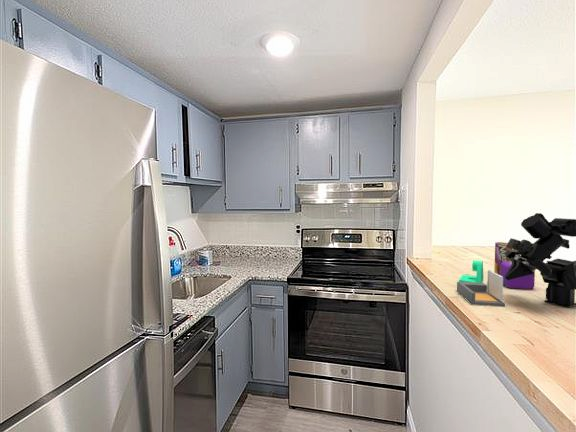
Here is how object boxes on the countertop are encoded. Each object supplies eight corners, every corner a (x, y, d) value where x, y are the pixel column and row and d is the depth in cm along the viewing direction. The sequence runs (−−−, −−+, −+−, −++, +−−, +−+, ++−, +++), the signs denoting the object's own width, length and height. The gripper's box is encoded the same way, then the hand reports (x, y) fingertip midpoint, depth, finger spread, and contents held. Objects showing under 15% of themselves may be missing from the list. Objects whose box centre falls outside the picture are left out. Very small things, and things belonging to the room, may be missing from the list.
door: (490, 291, 114) (490, 270, 114) (503, 300, 104) (503, 276, 104) (486, 291, 114) (487, 270, 114) (499, 300, 104) (499, 276, 104)
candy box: (518, 277, 140) (519, 244, 139) (510, 278, 139) (512, 244, 138) (501, 273, 149) (502, 241, 148) (493, 274, 148) (494, 242, 147)
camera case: (483, 291, 119) (484, 281, 119) (505, 306, 103) (505, 294, 103) (455, 290, 121) (455, 280, 121) (471, 304, 105) (472, 292, 105)
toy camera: (517, 281, 134) (518, 258, 134) (540, 290, 121) (541, 265, 120) (491, 281, 135) (492, 258, 135) (510, 290, 122) (511, 264, 121)
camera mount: (463, 280, 137) (463, 257, 137) (483, 283, 133) (483, 259, 132) (458, 286, 128) (458, 261, 127) (480, 289, 123) (480, 263, 123)
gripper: (510, 228, 114) (477, 257, 117) (541, 233, 96) (500, 267, 99) (534, 249, 113) (499, 278, 116) (570, 259, 95) (528, 293, 98)
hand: (505, 279), depth 107 cm, fingers closed
